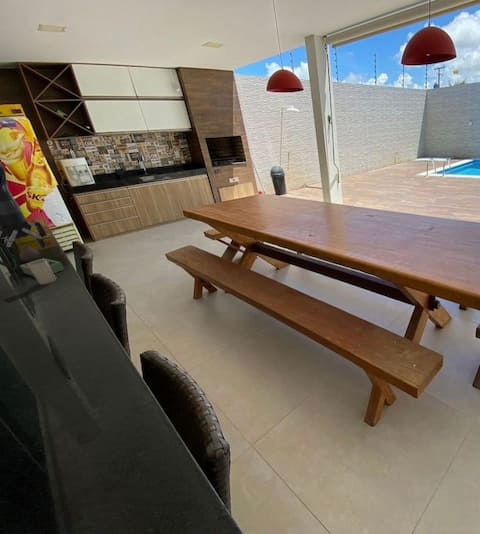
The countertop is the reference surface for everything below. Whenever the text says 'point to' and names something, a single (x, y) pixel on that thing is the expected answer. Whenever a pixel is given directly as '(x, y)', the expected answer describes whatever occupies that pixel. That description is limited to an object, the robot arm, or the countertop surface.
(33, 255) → the vase
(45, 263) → the beige rectangular block
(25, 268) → the holder
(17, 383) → the countertop surface
